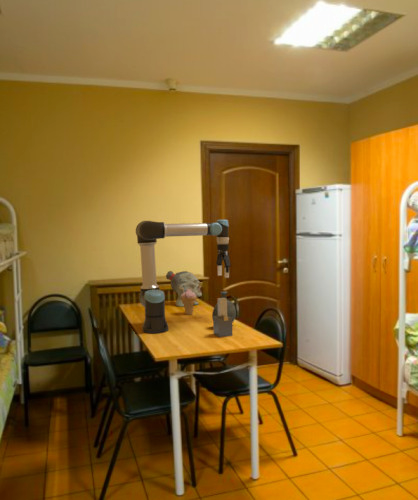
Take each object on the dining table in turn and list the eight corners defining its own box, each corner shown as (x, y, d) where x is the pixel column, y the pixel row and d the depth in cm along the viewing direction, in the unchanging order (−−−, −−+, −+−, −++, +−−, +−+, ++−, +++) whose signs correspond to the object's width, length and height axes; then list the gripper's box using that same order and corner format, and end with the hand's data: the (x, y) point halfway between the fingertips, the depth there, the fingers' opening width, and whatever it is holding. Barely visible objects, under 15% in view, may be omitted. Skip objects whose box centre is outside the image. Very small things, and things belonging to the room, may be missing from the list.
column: (220, 335, 243) (220, 299, 242) (218, 334, 247) (217, 298, 246) (227, 335, 245) (227, 298, 243) (225, 333, 248) (224, 297, 247)
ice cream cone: (179, 315, 305) (178, 286, 304) (183, 312, 316) (183, 284, 315) (194, 316, 303) (193, 286, 302) (198, 312, 313) (198, 284, 312)
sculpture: (203, 305, 336) (195, 266, 334) (172, 312, 337) (163, 273, 335) (205, 300, 355) (197, 264, 354) (175, 307, 357) (166, 270, 355)
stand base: (214, 341, 236) (213, 319, 235) (204, 334, 251) (204, 313, 250) (242, 338, 241) (241, 316, 240) (230, 332, 256) (230, 311, 255)
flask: (207, 328, 267) (206, 291, 266) (232, 324, 274) (231, 289, 273) (216, 332, 257) (215, 294, 255) (241, 328, 264) (241, 291, 263)
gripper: (235, 244, 277) (235, 278, 279) (221, 242, 301) (222, 274, 302) (223, 244, 275) (224, 278, 276) (211, 243, 299) (211, 274, 300)
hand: (223, 276), depth 289 cm, fingers open, 13 cm apart
